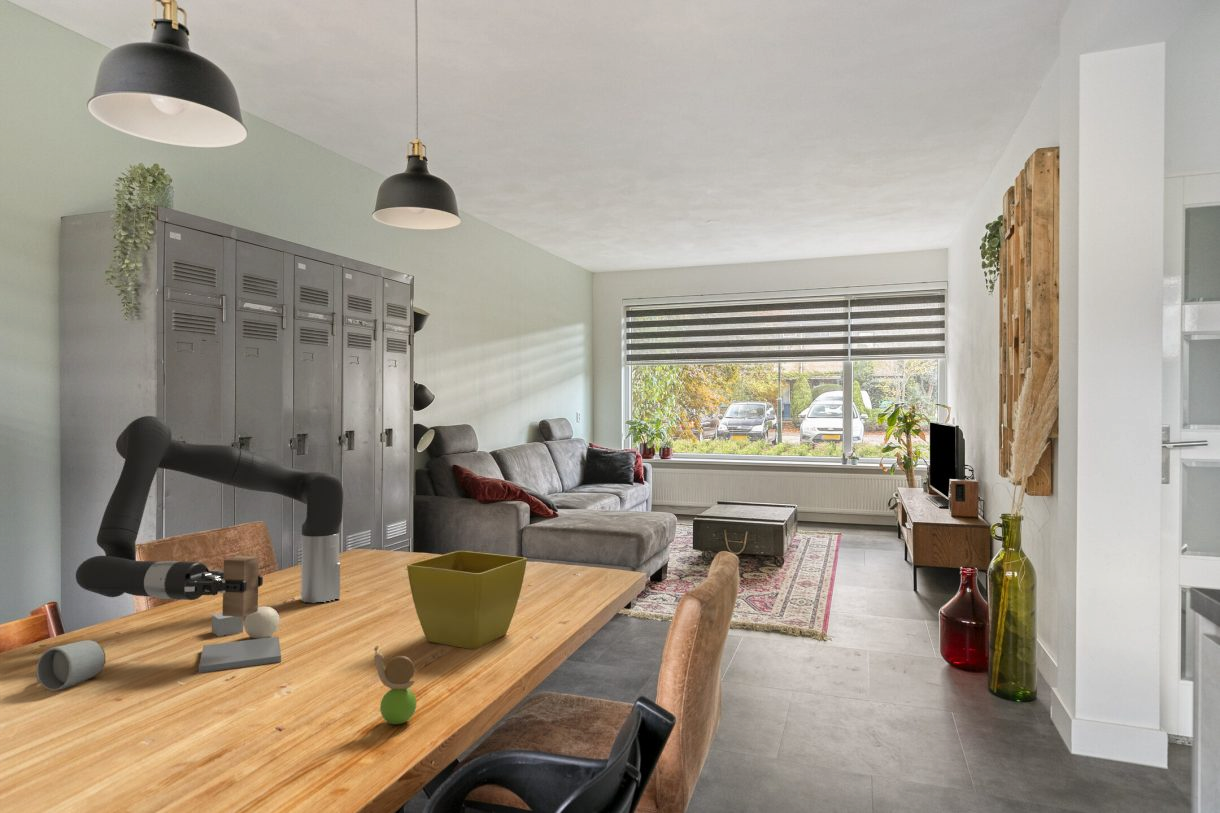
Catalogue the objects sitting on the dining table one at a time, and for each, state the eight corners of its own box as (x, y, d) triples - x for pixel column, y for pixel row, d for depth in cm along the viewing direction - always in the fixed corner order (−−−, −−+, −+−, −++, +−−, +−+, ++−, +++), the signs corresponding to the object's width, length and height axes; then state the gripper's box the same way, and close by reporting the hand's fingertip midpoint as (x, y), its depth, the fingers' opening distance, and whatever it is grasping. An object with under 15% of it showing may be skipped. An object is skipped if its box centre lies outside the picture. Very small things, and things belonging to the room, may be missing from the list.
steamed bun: (286, 633, 160) (286, 603, 160) (267, 643, 153) (268, 611, 153) (257, 632, 161) (257, 602, 161) (237, 642, 154) (238, 610, 154)
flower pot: (528, 631, 162) (528, 556, 162) (478, 657, 144) (479, 573, 145) (459, 621, 170) (459, 550, 170) (404, 644, 152) (404, 564, 153)
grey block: (235, 628, 165) (236, 610, 165) (243, 632, 161) (243, 614, 161) (211, 632, 161) (211, 614, 161) (218, 637, 158) (218, 619, 158)
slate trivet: (278, 642, 154) (278, 636, 154) (281, 661, 141) (281, 655, 141) (203, 651, 148) (203, 645, 148) (198, 672, 135) (198, 666, 135)
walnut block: (237, 609, 147) (238, 555, 147) (257, 611, 146) (258, 556, 147) (222, 615, 143) (223, 559, 143) (243, 616, 142) (244, 560, 142)
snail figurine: (378, 716, 116) (378, 641, 116) (419, 715, 116) (419, 640, 116) (369, 731, 110) (370, 652, 110) (412, 729, 111) (412, 651, 111)
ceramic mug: (109, 676, 133) (109, 636, 133) (69, 692, 125) (69, 649, 126) (63, 674, 135) (63, 634, 135) (21, 689, 127) (21, 647, 128)
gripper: (149, 568, 140) (230, 572, 137) (202, 555, 154) (275, 558, 151) (149, 607, 140) (229, 611, 137) (201, 590, 154) (275, 594, 151)
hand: (253, 583), depth 144 cm, fingers closed on walnut block, 4 cm apart
